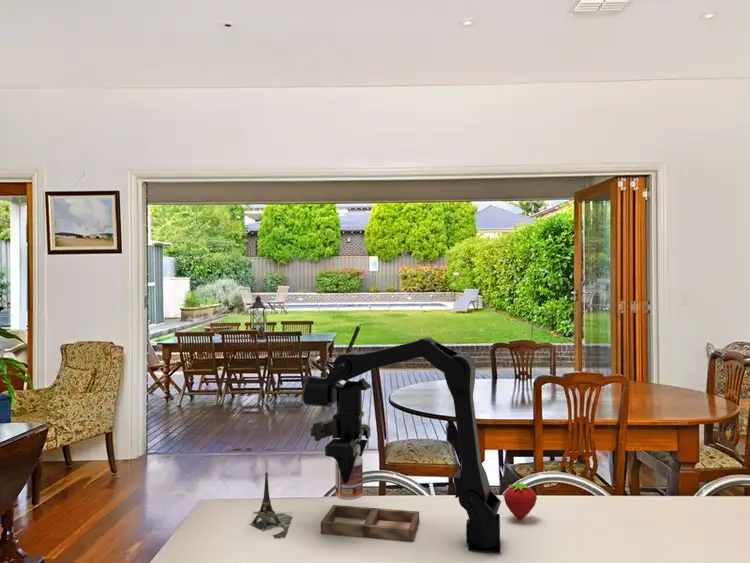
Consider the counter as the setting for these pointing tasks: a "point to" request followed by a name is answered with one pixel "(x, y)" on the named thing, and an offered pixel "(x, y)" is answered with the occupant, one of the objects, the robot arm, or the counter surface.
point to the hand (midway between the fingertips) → (349, 477)
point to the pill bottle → (350, 480)
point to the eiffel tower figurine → (270, 515)
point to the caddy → (372, 523)
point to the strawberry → (520, 500)
